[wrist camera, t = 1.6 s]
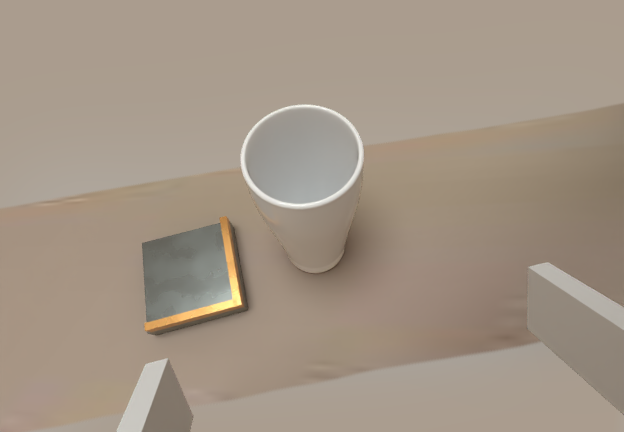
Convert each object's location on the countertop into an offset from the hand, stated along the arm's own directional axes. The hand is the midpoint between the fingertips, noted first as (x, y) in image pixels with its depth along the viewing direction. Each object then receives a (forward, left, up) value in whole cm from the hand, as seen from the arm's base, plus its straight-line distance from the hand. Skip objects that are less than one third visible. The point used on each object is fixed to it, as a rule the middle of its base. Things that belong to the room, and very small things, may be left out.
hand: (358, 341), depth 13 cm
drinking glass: (0, -10, -17) cm, 20 cm away
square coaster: (+11, -10, -17) cm, 22 cm away
